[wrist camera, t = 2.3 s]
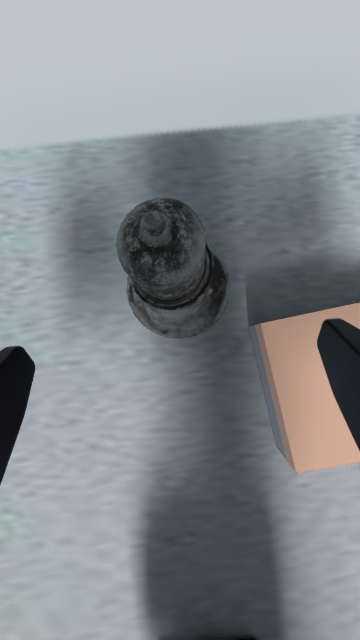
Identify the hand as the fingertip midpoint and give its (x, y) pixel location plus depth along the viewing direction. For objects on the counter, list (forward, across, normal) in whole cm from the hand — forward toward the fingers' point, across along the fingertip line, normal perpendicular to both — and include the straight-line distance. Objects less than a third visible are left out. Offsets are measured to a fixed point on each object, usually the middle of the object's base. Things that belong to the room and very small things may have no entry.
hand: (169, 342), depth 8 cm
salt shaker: (+10, 0, +5) cm, 11 cm away
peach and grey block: (+5, -9, +9) cm, 14 cm away
